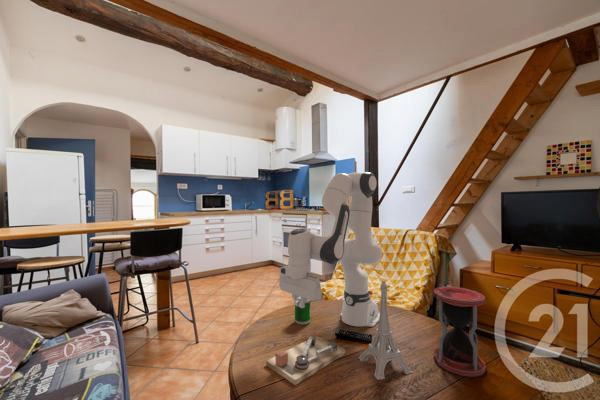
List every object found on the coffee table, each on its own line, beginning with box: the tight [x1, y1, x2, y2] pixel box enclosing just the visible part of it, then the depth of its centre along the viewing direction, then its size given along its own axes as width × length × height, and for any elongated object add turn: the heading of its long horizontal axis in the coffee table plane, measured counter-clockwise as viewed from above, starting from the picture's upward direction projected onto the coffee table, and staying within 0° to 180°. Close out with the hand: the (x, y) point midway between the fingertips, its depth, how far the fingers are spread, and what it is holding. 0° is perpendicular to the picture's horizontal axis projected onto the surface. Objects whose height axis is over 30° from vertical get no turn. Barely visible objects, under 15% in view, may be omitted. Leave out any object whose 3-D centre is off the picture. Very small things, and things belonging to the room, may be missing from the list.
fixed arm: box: [295, 341, 338, 370], centre depth 100 cm, size 19×5×2 cm, turn 128°
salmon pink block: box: [275, 349, 288, 367], centre depth 96 cm, size 3×3×4 cm
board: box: [265, 335, 346, 386], centre depth 102 cm, size 26×15×2 cm, turn 134°
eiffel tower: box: [357, 279, 414, 381], centre depth 98 cm, size 13×13×30 cm
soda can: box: [294, 296, 311, 326], centre depth 133 cm, size 8×8×12 cm
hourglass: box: [432, 286, 486, 378], centre depth 99 cm, size 16×16×25 cm
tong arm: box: [296, 335, 316, 365], centre depth 102 cm, size 18×4×2 cm, turn 166°
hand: (299, 306), depth 108 cm, fingers closed
